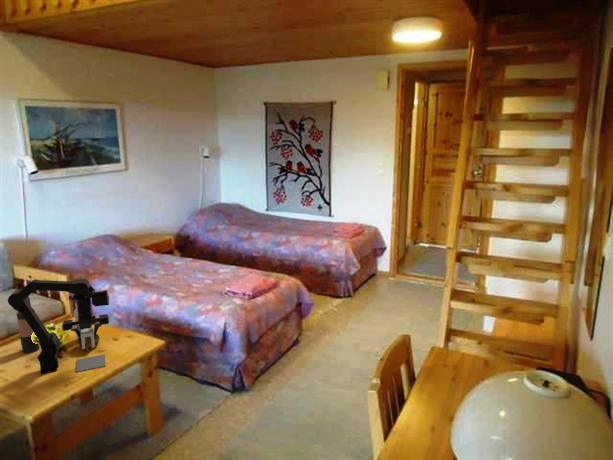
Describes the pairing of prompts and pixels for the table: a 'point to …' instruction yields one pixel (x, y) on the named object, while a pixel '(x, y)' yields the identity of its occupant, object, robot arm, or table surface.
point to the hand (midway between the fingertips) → (88, 339)
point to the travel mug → (26, 335)
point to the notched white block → (87, 333)
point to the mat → (90, 363)
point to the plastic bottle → (76, 316)
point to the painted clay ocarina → (89, 342)
